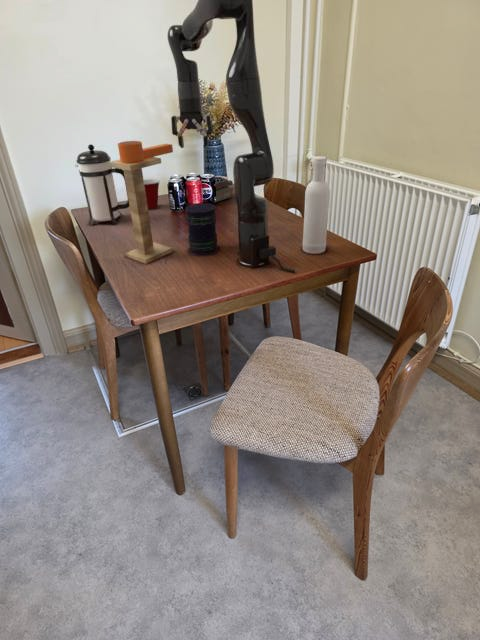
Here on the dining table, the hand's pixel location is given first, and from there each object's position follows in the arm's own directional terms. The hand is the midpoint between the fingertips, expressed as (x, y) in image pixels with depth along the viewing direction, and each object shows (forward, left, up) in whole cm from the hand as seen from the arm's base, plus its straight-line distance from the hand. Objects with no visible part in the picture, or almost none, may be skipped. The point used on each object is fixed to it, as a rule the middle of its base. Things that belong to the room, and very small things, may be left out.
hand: (193, 147), depth 151 cm
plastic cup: (+36, +7, -30) cm, 47 cm away
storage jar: (-22, +10, -30) cm, 38 cm away
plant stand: (-15, +27, -30) cm, 43 cm away
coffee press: (+30, +28, -30) cm, 51 cm away
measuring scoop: (-13, +22, +1) cm, 26 cm away
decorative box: (+26, -21, -30) cm, 45 cm away
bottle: (-44, -21, -30) cm, 57 cm away
